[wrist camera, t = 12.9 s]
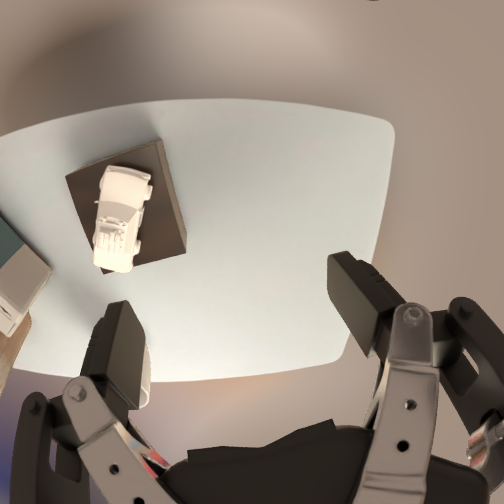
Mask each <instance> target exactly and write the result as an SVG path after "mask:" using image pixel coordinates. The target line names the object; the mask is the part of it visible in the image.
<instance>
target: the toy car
mask: <svg viewBox="0 0 504 504" xmlns="http://www.w3.org/2000/svg"><path fill="white" fill-rule="evenodd" d="M150 178H151V175H150V174H147V173H144V172H141V171H138V170H135V169H131V168H126V167H119V166H111V165H109V166H107V168H106V170H105V172H104V174H103V177H102V178H101V180H100V185H99V187H100V189H101V192H100V198H99V201H95V203H99V205H98V212H97V219H96V229H95V233H94V235H93V244H94V251H93V263H94V264H95V265H96V266H98V267H102V268H105V269H108V270H112V271H117V272H123V273H127V272H129V271H130V270H131V269H132V268H133V263H132V262H133V256H134V255H135V254H138V253H139V250H140V245H141V241H140V240H137V239H136V238H137V233H138V227H140V225H141V222H142V217H143V212H144V208H143V209H142V207H143V203H144V201H145V200H149V199H150V196H151V192H152V188H153V187H152V186H151V185H148V180H150ZM144 207H145V206H144ZM140 217H141V218H140ZM139 222H140V223H139Z"/></svg>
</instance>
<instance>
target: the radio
mask: <svg viewBox="0 0 504 504" xmlns="http://www.w3.org/2000/svg"><path fill="white" fill-rule="evenodd" d="M51 271H52V270H51V268H50V267H49V266H48V265H47V264H45V263H44V262H43V261H42V260H41V259H40V258H39V257H38V256H37V255H36V254H35V253H34V252H33V251H32V250H31V249H30V248H29V247H28V246H27V245H26V244H25V243H24V242H23V241H22V240H21V239H20V238H19V237H18V236H17V235H16V233H15V232H14V231H13V230H12V229H11V228H10V227H9V226H8V225H7V224H6V222H5V221H4V220H3V219H2V218H1V217H0V331H1V332H2V333H4V334H5V335H6V336H7V337H11V336H12V334H13V333H14V331H15V330H16V329H17V327H18V326H19V324H20V323H21V322H22V320H23V318H24V317H25V315H26V313H27V312H28V310H29V308H30V307H31V305H32V303H33V302H34V300H35V299H36V297H37V295H38V294H39V292H40V291H41V289H42V288H43V286H44V285H45V283H46V282H47V280H48V279H49V277H50V275H51Z"/></svg>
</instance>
